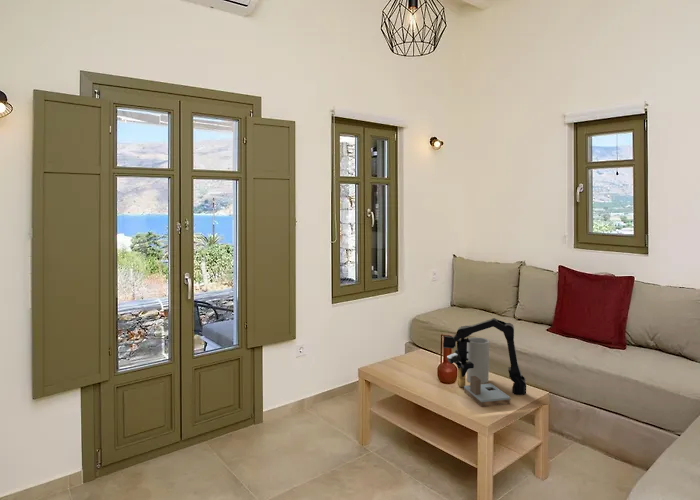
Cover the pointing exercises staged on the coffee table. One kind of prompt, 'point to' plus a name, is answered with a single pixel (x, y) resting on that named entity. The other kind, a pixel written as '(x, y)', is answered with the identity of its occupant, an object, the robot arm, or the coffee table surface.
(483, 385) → the grey plate with hole
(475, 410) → the coffee table surface
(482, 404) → the brown open tray
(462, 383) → the golden wooden block
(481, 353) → the cylinder vase
